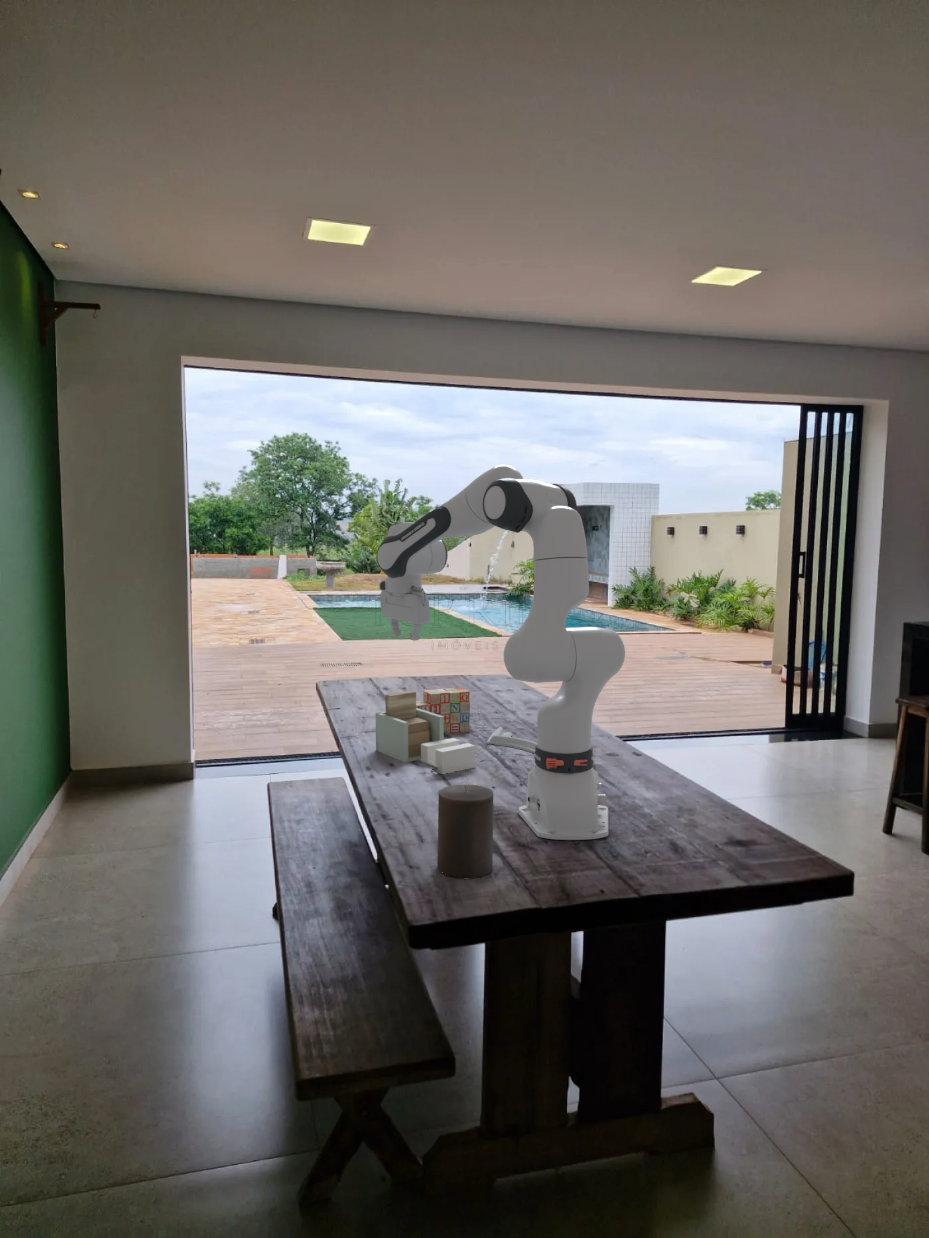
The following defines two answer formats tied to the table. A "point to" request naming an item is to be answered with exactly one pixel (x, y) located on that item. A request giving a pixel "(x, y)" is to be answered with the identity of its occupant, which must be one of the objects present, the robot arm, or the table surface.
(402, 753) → the rack
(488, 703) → the table surface
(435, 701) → the stack of blocks
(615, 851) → the table surface
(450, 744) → the holder
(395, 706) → the rectangular block
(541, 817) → the robot arm
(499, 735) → the molding
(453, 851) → the pillar candle
